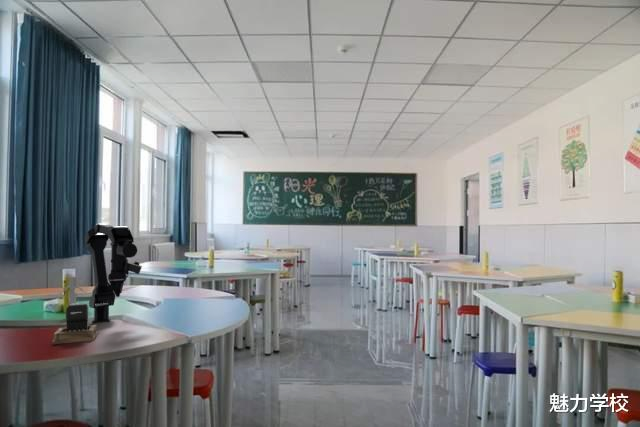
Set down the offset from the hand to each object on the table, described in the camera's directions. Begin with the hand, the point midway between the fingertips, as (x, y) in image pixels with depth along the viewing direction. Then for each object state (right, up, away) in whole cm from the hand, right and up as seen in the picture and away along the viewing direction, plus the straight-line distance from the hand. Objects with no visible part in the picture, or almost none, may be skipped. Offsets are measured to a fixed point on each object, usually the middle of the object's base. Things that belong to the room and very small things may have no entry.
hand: (119, 295), depth 164 cm
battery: (-7, -12, -17) cm, 22 cm away
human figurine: (-33, -14, +23) cm, 43 cm away
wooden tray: (-7, -13, -17) cm, 23 cm away
